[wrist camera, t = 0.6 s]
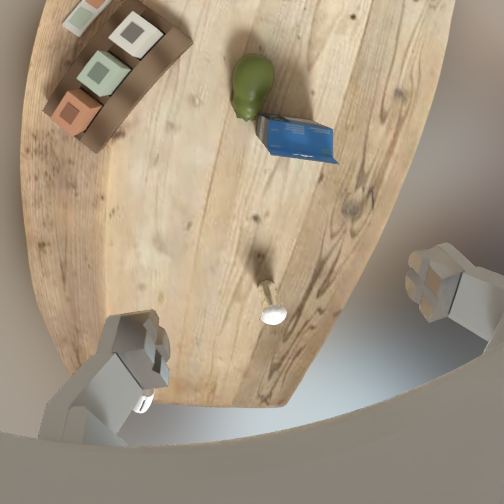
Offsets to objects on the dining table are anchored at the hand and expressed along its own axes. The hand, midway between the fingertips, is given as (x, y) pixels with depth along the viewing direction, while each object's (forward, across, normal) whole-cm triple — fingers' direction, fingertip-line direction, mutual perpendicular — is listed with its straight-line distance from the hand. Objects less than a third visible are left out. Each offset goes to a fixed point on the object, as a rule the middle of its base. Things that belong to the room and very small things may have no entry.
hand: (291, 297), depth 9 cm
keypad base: (+39, +14, -12) cm, 43 cm away
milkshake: (+40, -2, +31) cm, 50 cm away
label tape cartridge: (+39, -9, +2) cm, 40 cm away
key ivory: (+36, +9, -16) cm, 40 cm away
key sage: (+36, +14, -12) cm, 41 cm away
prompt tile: (+39, +16, -24) cm, 49 cm away
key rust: (+36, +20, -8) cm, 42 cm away
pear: (+39, -4, -5) cm, 40 cm away
